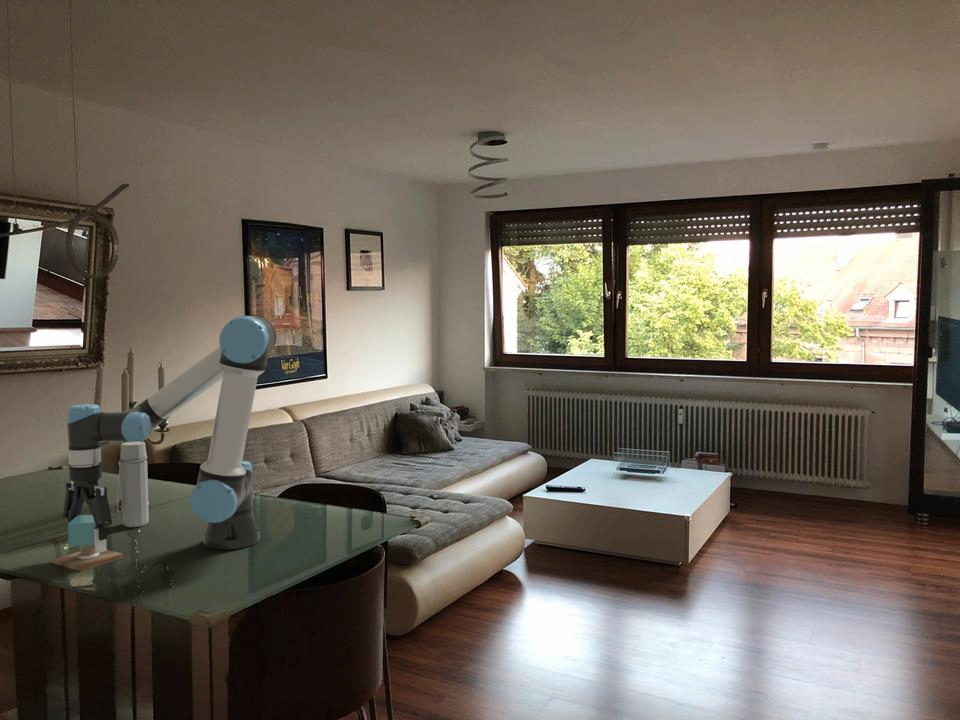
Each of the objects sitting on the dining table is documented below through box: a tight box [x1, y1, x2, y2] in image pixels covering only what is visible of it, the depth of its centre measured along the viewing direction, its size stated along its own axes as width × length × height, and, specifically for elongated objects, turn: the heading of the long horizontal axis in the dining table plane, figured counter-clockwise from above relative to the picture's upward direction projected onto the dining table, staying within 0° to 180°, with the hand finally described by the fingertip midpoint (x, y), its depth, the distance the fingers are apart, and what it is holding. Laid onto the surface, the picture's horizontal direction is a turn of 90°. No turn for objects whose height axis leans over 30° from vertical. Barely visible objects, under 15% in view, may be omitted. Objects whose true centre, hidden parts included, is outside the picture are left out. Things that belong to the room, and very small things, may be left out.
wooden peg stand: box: [51, 545, 125, 572], centre depth 199 cm, size 12×12×10 cm
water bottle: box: [115, 441, 150, 528], centre depth 230 cm, size 9×8×25 cm
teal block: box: [67, 514, 108, 547], centre depth 198 cm, size 7×7×6 cm
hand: (88, 548), depth 199 cm, fingers closed on teal block, 10 cm apart
